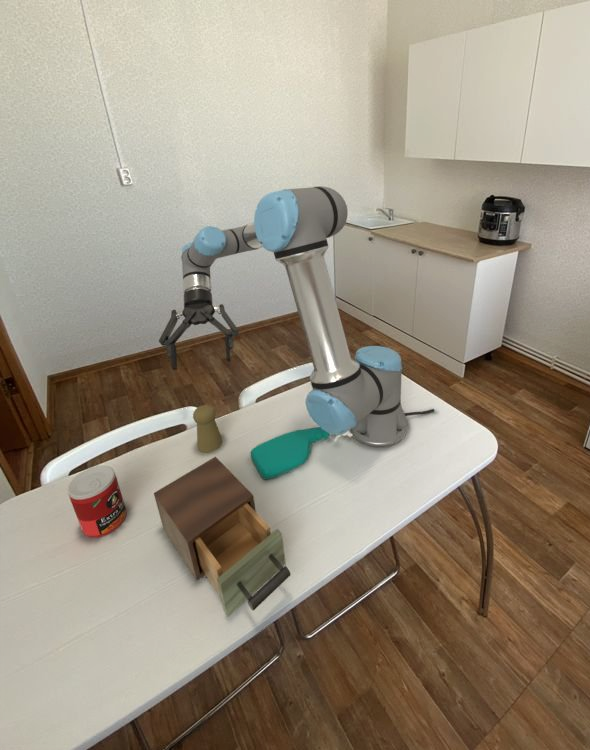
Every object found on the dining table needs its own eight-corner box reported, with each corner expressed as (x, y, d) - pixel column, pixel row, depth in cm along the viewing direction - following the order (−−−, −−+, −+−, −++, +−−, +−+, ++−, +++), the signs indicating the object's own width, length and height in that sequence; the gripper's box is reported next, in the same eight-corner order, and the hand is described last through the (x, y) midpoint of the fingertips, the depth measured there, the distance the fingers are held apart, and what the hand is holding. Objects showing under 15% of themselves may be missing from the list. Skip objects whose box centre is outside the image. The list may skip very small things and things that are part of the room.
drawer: (303, 583, 65) (300, 551, 63) (244, 642, 57) (237, 609, 55) (245, 518, 77) (240, 489, 74) (189, 560, 69) (181, 529, 67)
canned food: (106, 542, 74) (91, 500, 70) (72, 535, 75) (55, 493, 71) (136, 508, 81) (124, 468, 77) (104, 502, 82) (90, 462, 78)
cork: (227, 439, 100) (221, 404, 96) (210, 455, 95) (202, 419, 91) (210, 433, 102) (203, 398, 98) (192, 448, 97) (184, 412, 93)
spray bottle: (248, 456, 94) (334, 419, 107) (264, 485, 86) (356, 442, 99) (247, 446, 93) (334, 410, 106) (263, 475, 85) (355, 432, 98)
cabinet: (258, 531, 75) (253, 494, 72) (196, 581, 67) (187, 542, 63) (221, 490, 85) (215, 456, 81) (163, 529, 76) (153, 493, 73)
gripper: (243, 293, 117) (251, 360, 109) (153, 303, 110) (154, 375, 102) (241, 282, 110) (249, 353, 102) (146, 292, 103) (146, 368, 95)
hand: (202, 364), depth 102 cm, fingers open, 13 cm apart
